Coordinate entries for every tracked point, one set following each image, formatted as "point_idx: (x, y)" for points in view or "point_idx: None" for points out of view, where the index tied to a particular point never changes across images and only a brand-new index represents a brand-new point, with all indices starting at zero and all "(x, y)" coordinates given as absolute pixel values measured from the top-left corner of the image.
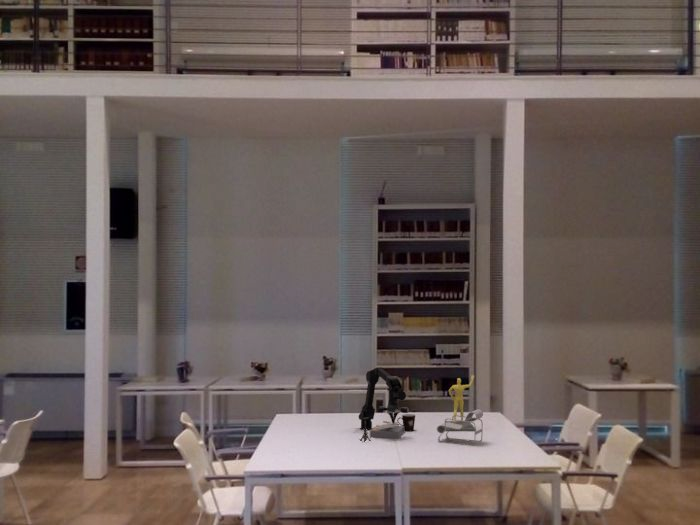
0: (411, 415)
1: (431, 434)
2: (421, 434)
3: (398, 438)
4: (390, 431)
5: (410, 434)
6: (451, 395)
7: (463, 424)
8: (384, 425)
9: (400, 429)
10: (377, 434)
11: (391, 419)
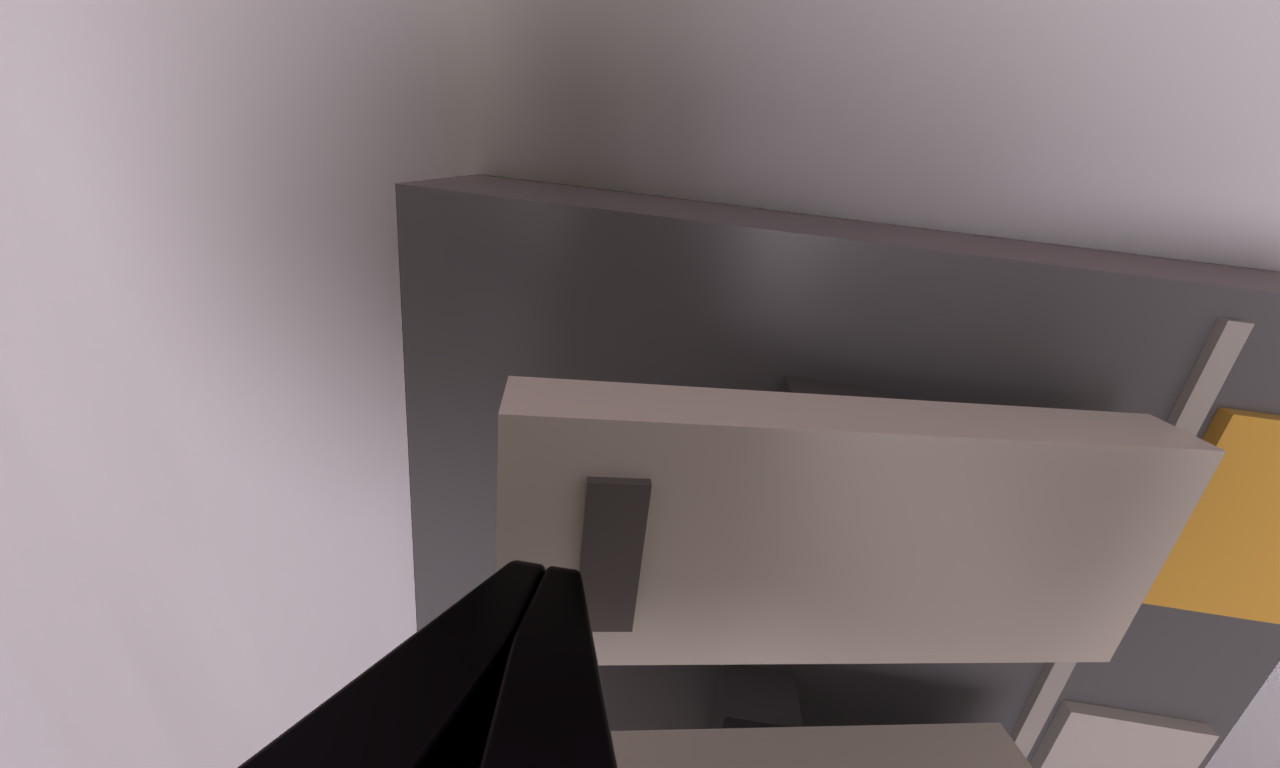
0: None
1: (15, 651)
2: (163, 648)
3: (478, 175)
4: (691, 297)
5: (340, 645)
6: None
7: None
8: (915, 766)
9: (436, 615)
10: (1120, 262)
11: (594, 741)
